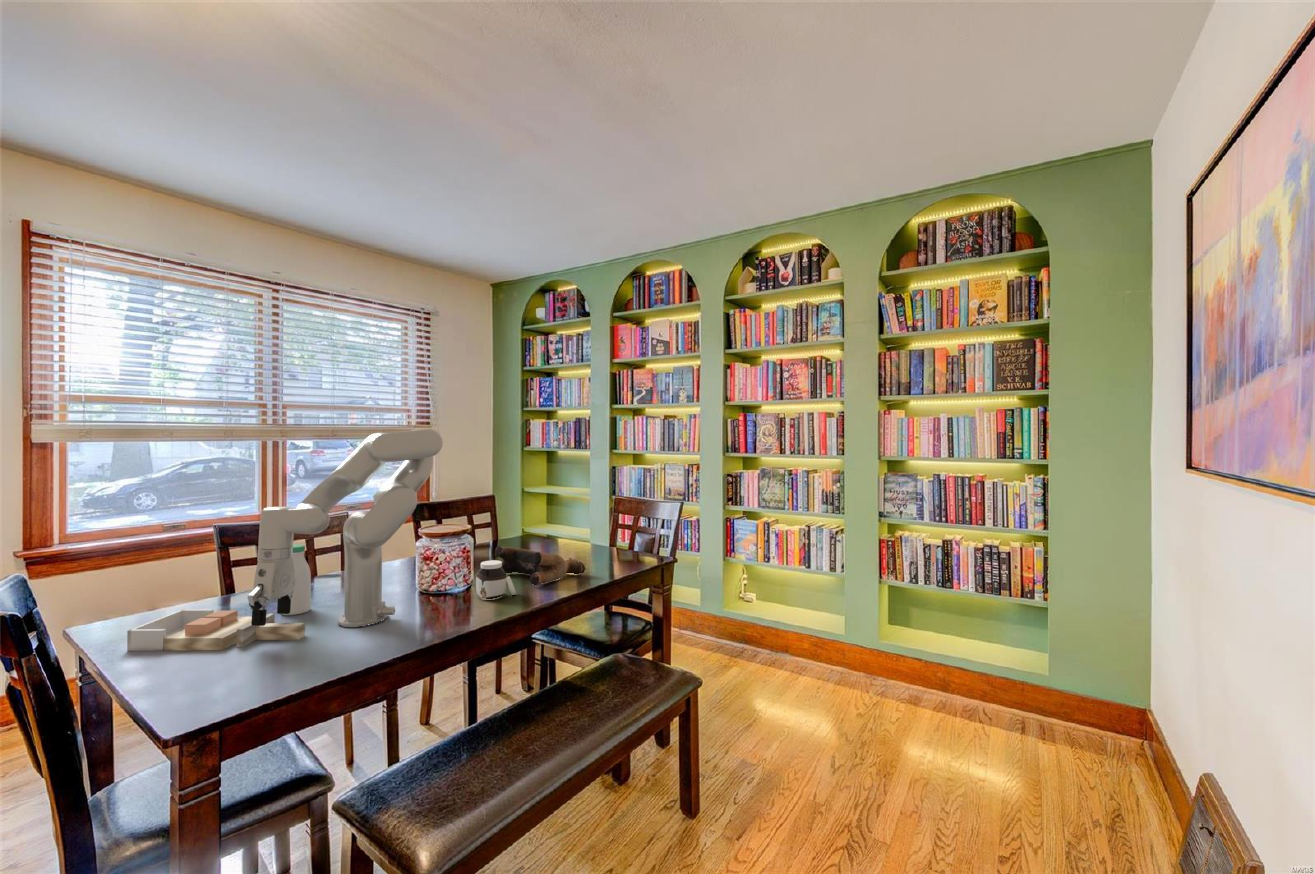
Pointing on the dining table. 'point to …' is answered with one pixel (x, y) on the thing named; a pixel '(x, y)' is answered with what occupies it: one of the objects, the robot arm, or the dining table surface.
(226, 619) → the tile
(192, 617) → the box
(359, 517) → the robot arm
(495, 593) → the spread jar
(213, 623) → the tile
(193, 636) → the board
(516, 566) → the brown teddy bear
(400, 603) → the dining table surface
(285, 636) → the scraper
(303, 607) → the milk bottle
